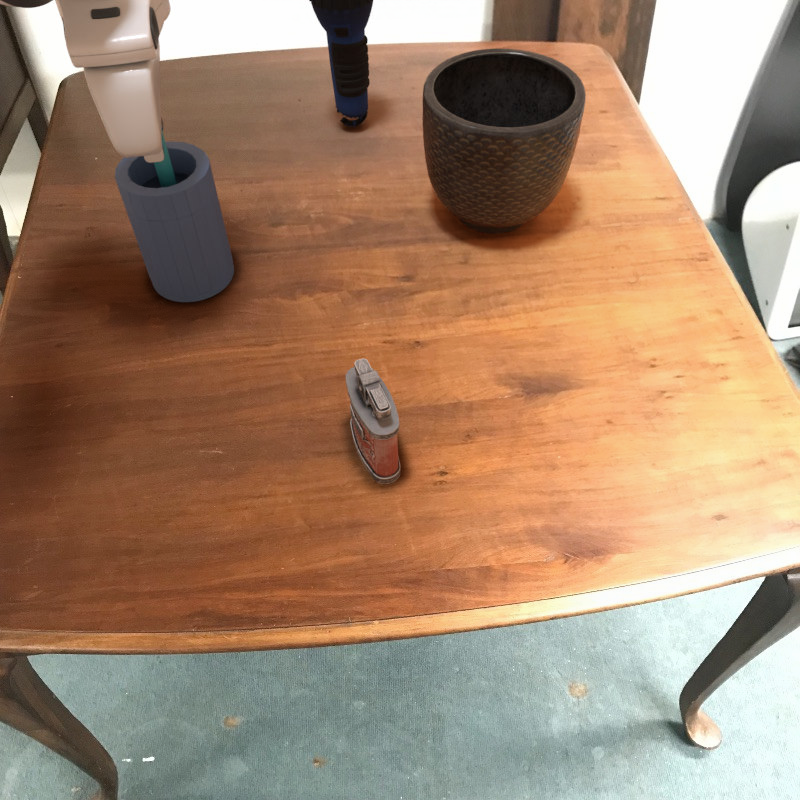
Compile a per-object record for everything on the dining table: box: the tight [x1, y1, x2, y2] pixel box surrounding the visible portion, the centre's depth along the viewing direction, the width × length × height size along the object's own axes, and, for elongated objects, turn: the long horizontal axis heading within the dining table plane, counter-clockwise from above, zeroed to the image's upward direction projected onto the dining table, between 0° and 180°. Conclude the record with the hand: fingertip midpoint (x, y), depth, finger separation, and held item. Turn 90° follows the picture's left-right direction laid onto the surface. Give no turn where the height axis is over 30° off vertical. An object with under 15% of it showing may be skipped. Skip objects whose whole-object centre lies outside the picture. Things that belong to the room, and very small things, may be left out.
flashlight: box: [308, 0, 374, 128], centre depth 98 cm, size 8×8×20 cm
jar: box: [114, 140, 235, 303], centre depth 82 cm, size 9×9×14 cm
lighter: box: [345, 358, 402, 485], centre depth 68 cm, size 8×3×10 cm, turn 22°
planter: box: [422, 47, 587, 235], centre depth 88 cm, size 17×17×16 cm
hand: (155, 143), depth 75 cm, fingers open, 3 cm apart
